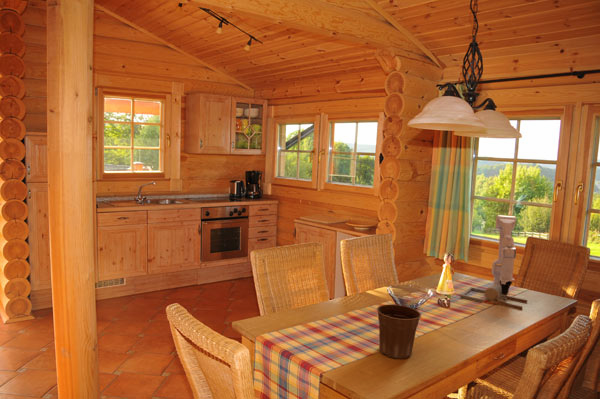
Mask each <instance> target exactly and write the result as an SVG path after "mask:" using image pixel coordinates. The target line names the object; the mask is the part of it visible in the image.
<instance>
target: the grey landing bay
mask: <svg viewBox="0 0 600 399" xmlns="http://www.w3.org/2000/svg"><path fill="white" fill-rule="evenodd" d="M485 290H486V289H482V288H477V287H471V286H469V288H468V289H466V290H465V291H463V293H461V294H460V298H461V299H465V300H470V301H475V302H479V303H482V302H483V303H484V299H483V298H478V297H476V296H475V297H473V296H470V295H468V294H470V292H472V291H473V292H479V293H483V294H485Z"/></svg>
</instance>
